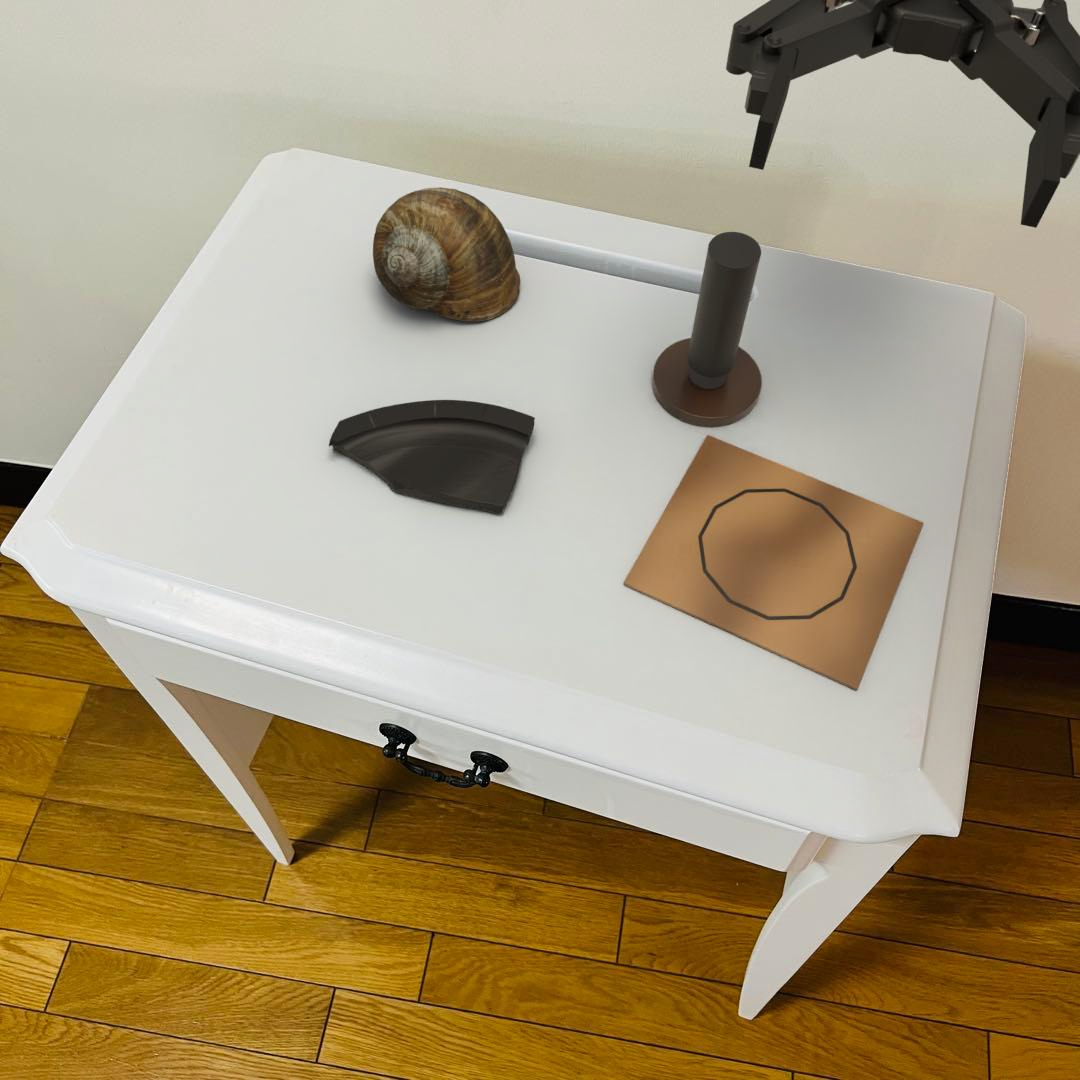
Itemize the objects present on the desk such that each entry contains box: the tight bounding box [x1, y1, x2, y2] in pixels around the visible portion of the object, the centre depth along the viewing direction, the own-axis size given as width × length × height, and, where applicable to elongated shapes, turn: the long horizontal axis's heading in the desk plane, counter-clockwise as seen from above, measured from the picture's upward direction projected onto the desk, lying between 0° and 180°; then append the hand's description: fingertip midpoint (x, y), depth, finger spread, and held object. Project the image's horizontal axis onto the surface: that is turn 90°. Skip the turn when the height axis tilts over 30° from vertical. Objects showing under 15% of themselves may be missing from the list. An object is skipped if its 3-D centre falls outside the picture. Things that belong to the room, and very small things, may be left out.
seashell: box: [372, 187, 521, 322], centre depth 80 cm, size 11×9×8 cm
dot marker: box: [687, 231, 762, 389], centre depth 72 cm, size 3×3×12 cm
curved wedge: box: [328, 399, 536, 514], centre depth 74 cm, size 8×14×2 cm, turn 74°
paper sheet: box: [623, 434, 924, 691], centre depth 70 cm, size 16×14×1 cm
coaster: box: [651, 337, 763, 428], centre depth 77 cm, size 8×8×1 cm
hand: (897, 174), depth 51 cm, fingers open, 13 cm apart
